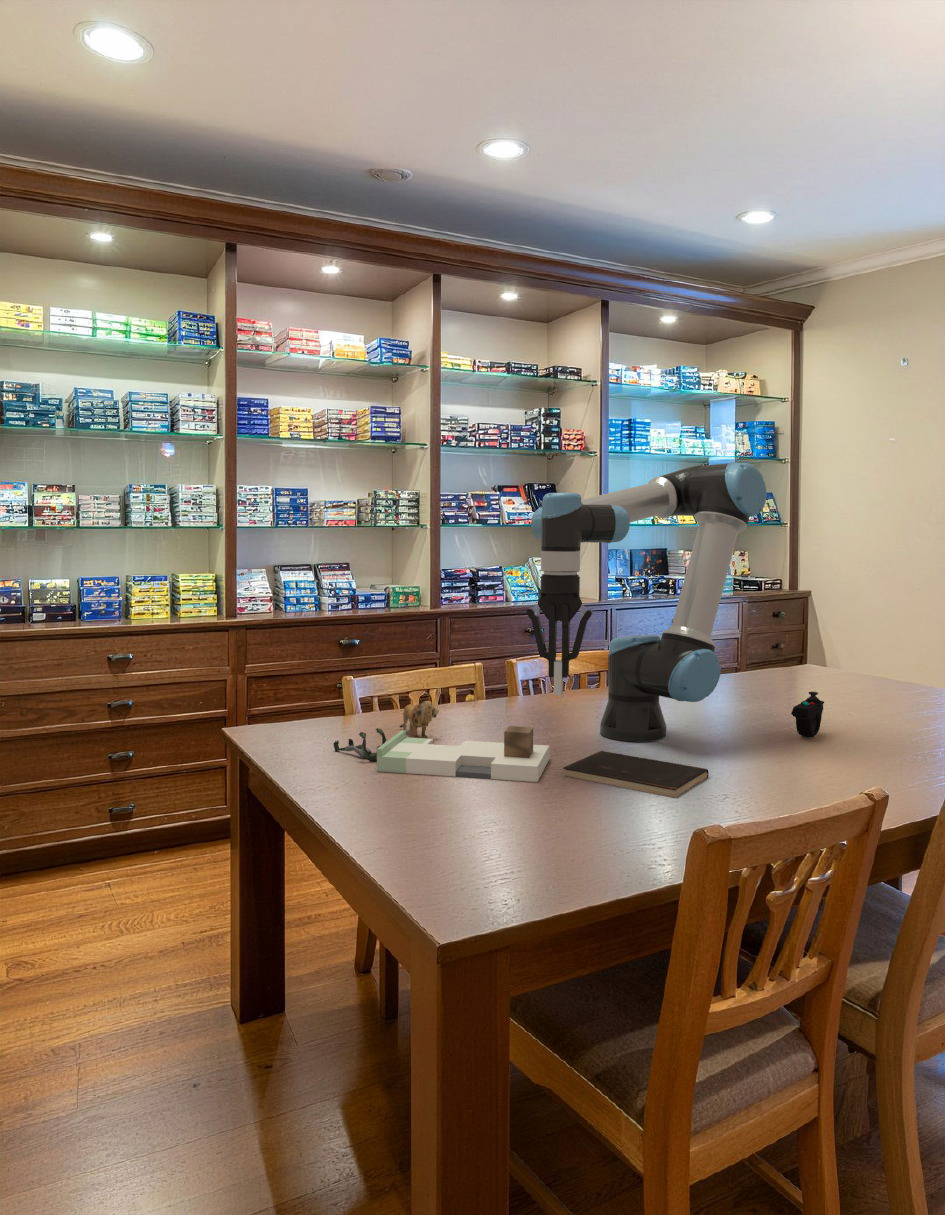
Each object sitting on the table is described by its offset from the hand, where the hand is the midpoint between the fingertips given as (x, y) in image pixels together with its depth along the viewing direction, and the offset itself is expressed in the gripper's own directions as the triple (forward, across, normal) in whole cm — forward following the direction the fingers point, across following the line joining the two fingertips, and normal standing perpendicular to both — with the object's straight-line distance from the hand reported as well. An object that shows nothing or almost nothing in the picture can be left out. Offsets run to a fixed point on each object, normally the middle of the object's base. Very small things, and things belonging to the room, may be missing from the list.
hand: (558, 693), depth 167 cm
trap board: (+16, +19, 0) cm, 24 cm away
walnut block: (+13, +8, 0) cm, 15 cm away
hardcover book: (+16, -15, 0) cm, 22 cm away
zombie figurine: (+16, +41, -2) cm, 45 cm away
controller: (+15, -52, -40) cm, 68 cm away
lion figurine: (+16, +35, -22) cm, 45 cm away
